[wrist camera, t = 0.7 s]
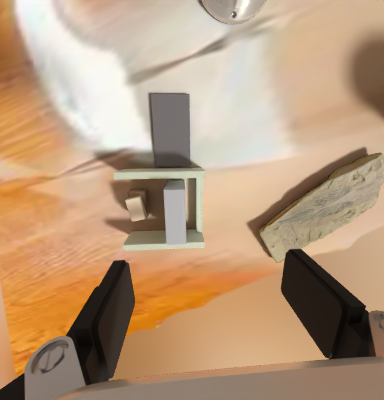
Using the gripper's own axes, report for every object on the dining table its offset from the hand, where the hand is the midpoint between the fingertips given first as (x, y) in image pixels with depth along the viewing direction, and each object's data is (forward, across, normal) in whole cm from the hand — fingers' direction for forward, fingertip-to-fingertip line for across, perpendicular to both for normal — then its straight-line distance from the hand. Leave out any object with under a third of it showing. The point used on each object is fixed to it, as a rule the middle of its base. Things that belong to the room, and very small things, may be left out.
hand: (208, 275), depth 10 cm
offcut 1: (+29, +11, +4) cm, 31 cm away
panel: (+29, +3, -10) cm, 30 cm away
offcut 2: (+26, +11, +4) cm, 28 cm away
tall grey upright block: (+28, +3, +5) cm, 29 cm away
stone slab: (+29, -30, +8) cm, 42 cm away
